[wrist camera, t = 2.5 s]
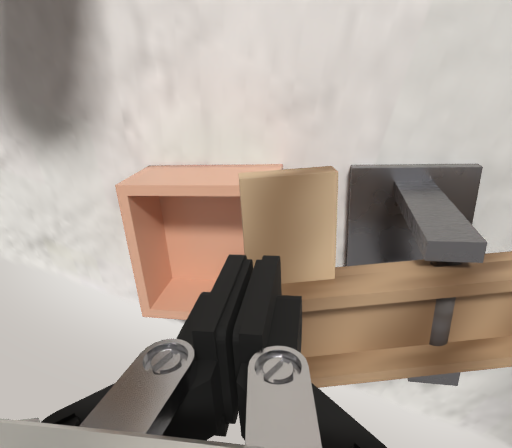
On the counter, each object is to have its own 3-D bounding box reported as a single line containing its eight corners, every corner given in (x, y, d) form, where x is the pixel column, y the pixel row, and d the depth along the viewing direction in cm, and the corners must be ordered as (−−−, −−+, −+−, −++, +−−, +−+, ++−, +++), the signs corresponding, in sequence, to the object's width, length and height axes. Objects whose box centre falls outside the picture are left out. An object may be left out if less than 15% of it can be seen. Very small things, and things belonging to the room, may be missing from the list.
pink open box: (282, 164, 27) (273, 185, 22) (286, 287, 30) (278, 326, 26) (149, 165, 28) (115, 185, 24) (168, 281, 32) (142, 316, 28)
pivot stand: (478, 164, 24) (566, 224, 15) (454, 294, 28) (513, 404, 19) (350, 164, 26) (363, 221, 17) (345, 289, 30) (352, 388, 21)
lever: (643, 141, 17) (724, 155, 14) (581, 321, 21) (635, 359, 18) (238, 171, 16) (241, 193, 13) (251, 355, 20) (256, 401, 17)
